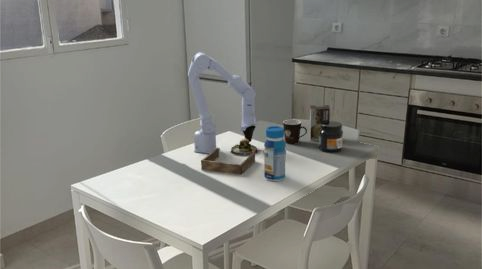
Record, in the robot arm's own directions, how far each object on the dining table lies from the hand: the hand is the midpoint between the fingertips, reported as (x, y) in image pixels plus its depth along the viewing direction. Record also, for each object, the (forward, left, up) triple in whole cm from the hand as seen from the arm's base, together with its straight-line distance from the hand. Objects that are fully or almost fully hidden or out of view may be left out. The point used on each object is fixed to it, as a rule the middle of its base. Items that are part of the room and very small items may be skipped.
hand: (248, 141), depth 212 cm
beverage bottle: (+22, -30, -3) cm, 37 cm away
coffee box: (+28, +22, -3) cm, 36 cm away
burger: (0, -6, -3) cm, 7 cm away
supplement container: (+36, +9, -3) cm, 37 cm away
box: (0, -23, -3) cm, 23 cm away
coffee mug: (+18, +12, -3) cm, 22 cm away
